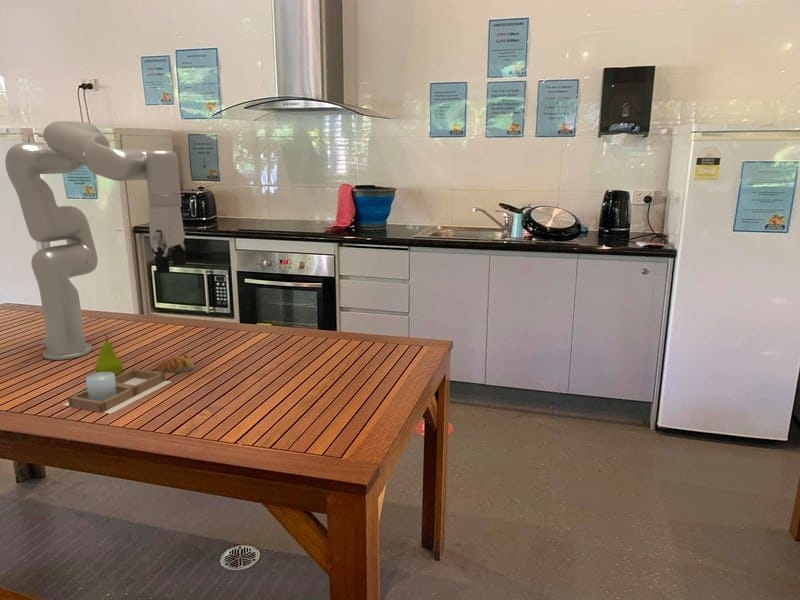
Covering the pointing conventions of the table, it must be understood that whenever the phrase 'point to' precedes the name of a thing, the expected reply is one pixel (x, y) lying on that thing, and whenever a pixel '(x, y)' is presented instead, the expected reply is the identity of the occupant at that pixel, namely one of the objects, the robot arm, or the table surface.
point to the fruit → (108, 360)
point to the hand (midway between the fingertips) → (171, 268)
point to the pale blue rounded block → (101, 386)
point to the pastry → (176, 365)
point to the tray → (122, 391)
